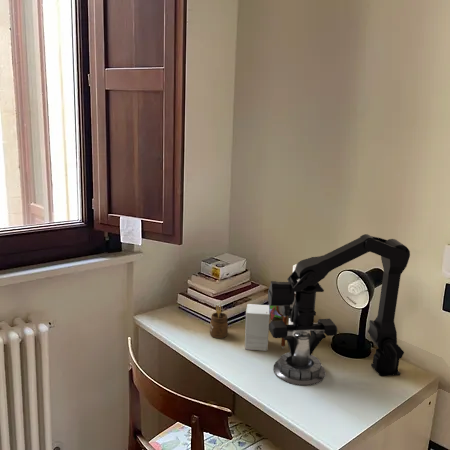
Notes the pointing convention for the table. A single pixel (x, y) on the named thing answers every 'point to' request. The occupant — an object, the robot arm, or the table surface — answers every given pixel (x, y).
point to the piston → (301, 348)
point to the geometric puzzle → (273, 312)
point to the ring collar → (299, 371)
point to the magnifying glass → (279, 310)
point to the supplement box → (257, 327)
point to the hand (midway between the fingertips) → (300, 355)
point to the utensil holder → (218, 324)
